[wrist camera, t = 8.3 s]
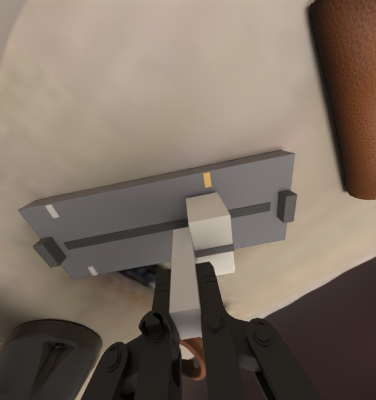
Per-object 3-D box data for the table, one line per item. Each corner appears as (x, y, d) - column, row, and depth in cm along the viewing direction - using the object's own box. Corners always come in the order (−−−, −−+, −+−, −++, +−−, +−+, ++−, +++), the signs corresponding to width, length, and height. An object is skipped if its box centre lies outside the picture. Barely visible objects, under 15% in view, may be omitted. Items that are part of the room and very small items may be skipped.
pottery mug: (197, 335, 32) (178, 387, 25) (173, 295, 32) (147, 334, 25) (252, 330, 26) (247, 395, 19) (221, 281, 26) (205, 327, 19)
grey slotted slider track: (81, 265, 21) (66, 288, 18) (35, 200, 16) (4, 216, 14) (275, 229, 20) (291, 246, 17) (281, 150, 16) (304, 156, 13)
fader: (195, 246, 17) (200, 280, 13) (185, 198, 15) (187, 224, 11) (223, 241, 17) (236, 273, 13) (217, 192, 14) (231, 215, 11)
